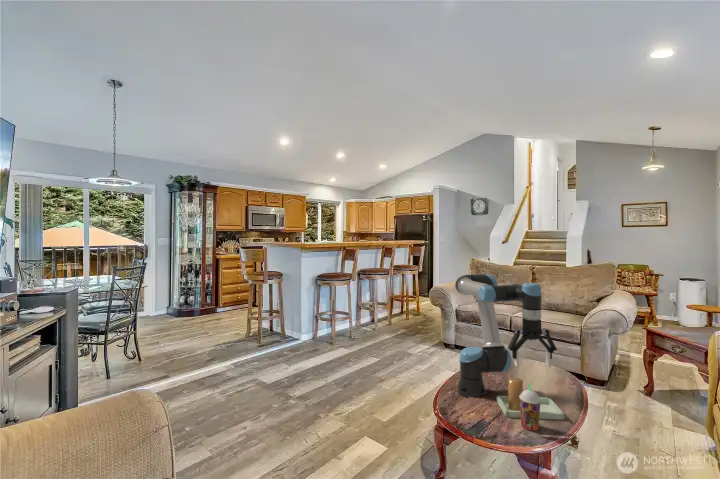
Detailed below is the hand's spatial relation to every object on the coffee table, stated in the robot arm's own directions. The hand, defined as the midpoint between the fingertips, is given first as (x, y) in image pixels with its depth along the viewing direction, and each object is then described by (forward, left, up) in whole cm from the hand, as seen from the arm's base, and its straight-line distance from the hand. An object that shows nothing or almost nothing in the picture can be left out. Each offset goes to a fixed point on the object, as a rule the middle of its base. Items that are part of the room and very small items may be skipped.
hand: (532, 366), depth 150 cm
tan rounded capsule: (-3, +13, -26) cm, 29 cm away
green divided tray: (+3, +13, -27) cm, 30 cm away
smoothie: (-2, -2, -27) cm, 27 cm away
